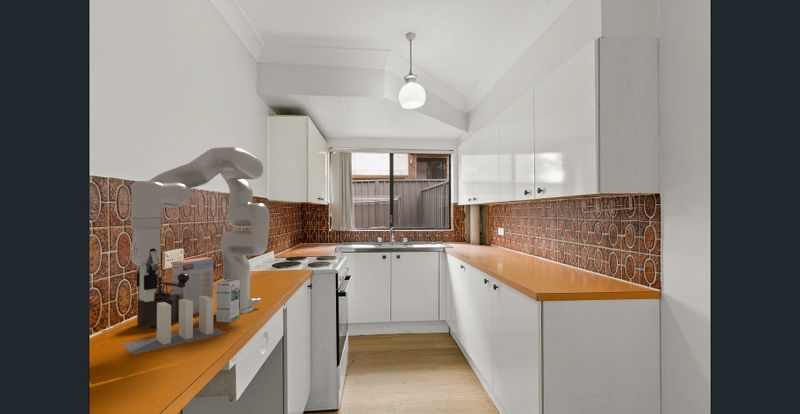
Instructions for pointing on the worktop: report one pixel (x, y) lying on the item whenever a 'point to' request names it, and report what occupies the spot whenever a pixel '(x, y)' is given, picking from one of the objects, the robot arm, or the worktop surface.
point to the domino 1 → (143, 294)
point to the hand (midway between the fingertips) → (146, 286)
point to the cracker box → (194, 280)
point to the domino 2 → (164, 322)
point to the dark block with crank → (149, 309)
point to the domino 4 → (206, 315)
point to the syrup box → (228, 300)
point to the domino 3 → (186, 318)
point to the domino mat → (175, 340)
